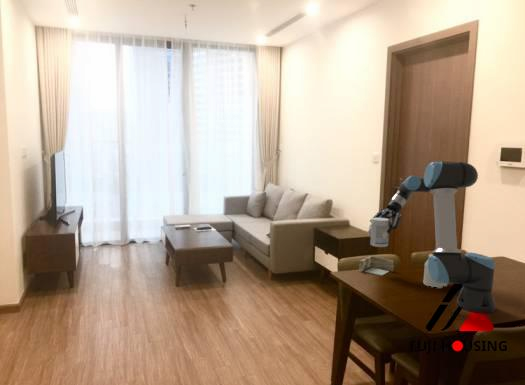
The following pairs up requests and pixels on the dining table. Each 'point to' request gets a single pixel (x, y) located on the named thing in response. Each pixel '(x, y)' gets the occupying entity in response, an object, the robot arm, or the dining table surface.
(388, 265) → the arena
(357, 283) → the dining table surface
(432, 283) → the jar
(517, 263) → the dining table surface
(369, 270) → the mat
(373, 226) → the supplement tub
